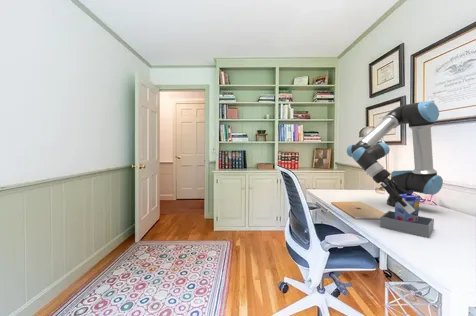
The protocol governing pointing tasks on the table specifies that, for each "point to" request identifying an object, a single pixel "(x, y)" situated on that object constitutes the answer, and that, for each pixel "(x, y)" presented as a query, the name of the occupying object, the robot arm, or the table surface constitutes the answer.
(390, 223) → the box
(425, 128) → the robot arm
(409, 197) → the ink cartridge box
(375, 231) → the table surface
